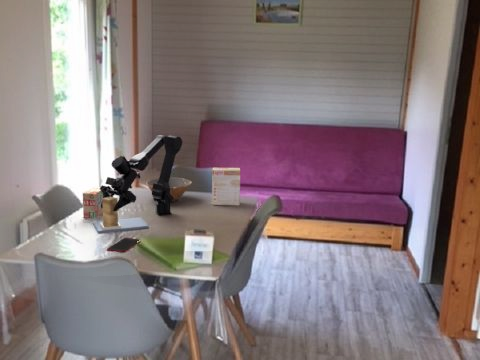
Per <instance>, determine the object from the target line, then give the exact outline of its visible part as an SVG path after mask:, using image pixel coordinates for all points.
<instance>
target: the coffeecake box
mask: <svg viewBox="0 0 480 360" xmlns="http://www.w3.org/2000/svg"><path fill="white" fill-rule="evenodd" d="M211 175H212V177H211V178H212V180H211V181H212V182H211V183H212V184H211V205H212V206H240V202H241V201H240V197H241V195H240V194H241V190H240V189H241V168H240V167H212V174H211Z"/></svg>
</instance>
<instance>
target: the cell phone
mask: <svg viewBox="0 0 480 360" xmlns="http://www.w3.org/2000/svg"><path fill="white" fill-rule="evenodd" d="M139 240H140V239H139V238H138V239H137V238H129V237H123V238H121V239H120V240H118V242H115V243H114V244H112V245H110V246H109V247H107V249H106V250H107V251H108V252H116V253H121V254H124V253H127V251H129V250H130V249H132V248H134V247H135V246H137V245H138V244H137V241H139ZM136 244H137V245H136Z"/></svg>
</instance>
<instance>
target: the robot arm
mask: <svg viewBox="0 0 480 360" xmlns="http://www.w3.org/2000/svg"><path fill="white" fill-rule="evenodd" d="M182 146H183V139H182V137H181V136H177V135H176V136H175V135H161V134H158V135H157V136H155V139H154V140H152V141H151V142H150V143H149V144H148V145H147V146H146V148H145V149H143V150H142V151H141V152H140V153H138V154H135V155H134V156H132V157H131V158H130V159H129V160H128V159H126V156H124V155H120V156H119V157H116V158H115V159H113V160H112V162H111V167H112V168H113V169H114V170H115V171H116V172H117V173H118V175H121V176H120V177H116V178H114V177H109V176H107V178H106V181H105V184H102V185H101V186H99V188H100V190H101V191H102V193H103V198H106V197H114V196H118V199H117V204H116V205H115V207H114V209H113V211H114V212H115V211H117V210H121V209H122V208H124V207H126V206H127V205H129V204H130V205H131V203H133V204H134V203H135V202H136V201H137V196H136V195H135V194H134V192H133V191H131V190H129V189H132V188H133V183H134V182H135V180H136V179H139V180H140V179H141V174H140V172H137V171H141V172H143V171H144V170H146V169H147V167H148V166H149V163H150V160H151V158H152V157H154V156H155V154H156V153H157V152H158V151H159V150H160V149H161V148H163V147H164V149H165V150H164V151H165V155H164V159H163V162H162V165H161V171H160V174H159V177H158V178H159V181H158V182H157V183H154V184H153V188H152V190H150V191H151V196H152V198H153V201H155V202H156V203H155V213H156V214H157V215H158V216H165V215H172V212H171V204H172V203H173V202H174V201H173V199H174V198H173V197H172V195H171V194H170V186H169V179H170V177H171V175H172V172H173V171H172V170H173V167H174V163H175V158H176V155H178V153H179V152H180V151H181V149H182ZM109 185H110V186H109ZM101 208H103V203H101Z"/></svg>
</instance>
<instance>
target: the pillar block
mask: <svg viewBox="0 0 480 360" xmlns="http://www.w3.org/2000/svg"><path fill="white" fill-rule="evenodd" d="M117 202H118V197H114V196H113V197H106V198H102V203H103V214H102V221H103V226H104V227H111V226H118V219H119V218H118V217H119V215H118V213H119V212H118V210H117V211H115V212H114V211H113V209H114V207H115V205H116V204H117Z"/></svg>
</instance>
